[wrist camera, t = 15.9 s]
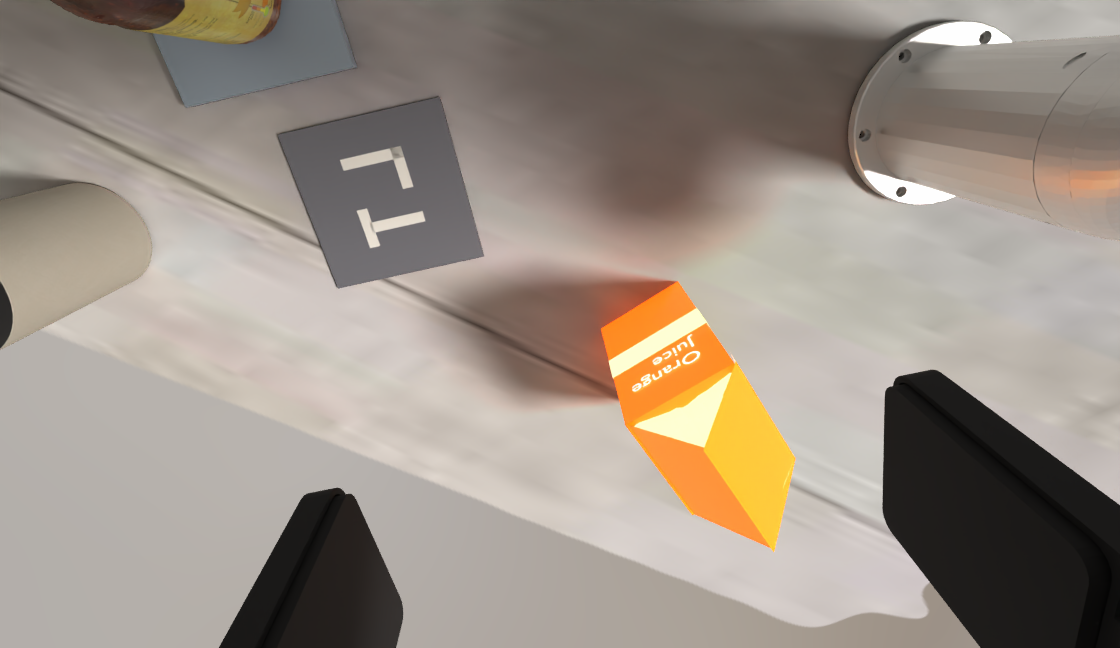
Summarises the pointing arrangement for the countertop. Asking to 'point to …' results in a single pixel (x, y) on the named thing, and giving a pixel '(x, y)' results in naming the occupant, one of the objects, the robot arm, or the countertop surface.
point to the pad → (261, 55)
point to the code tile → (384, 192)
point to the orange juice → (699, 416)
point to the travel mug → (65, 254)
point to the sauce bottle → (185, 17)
